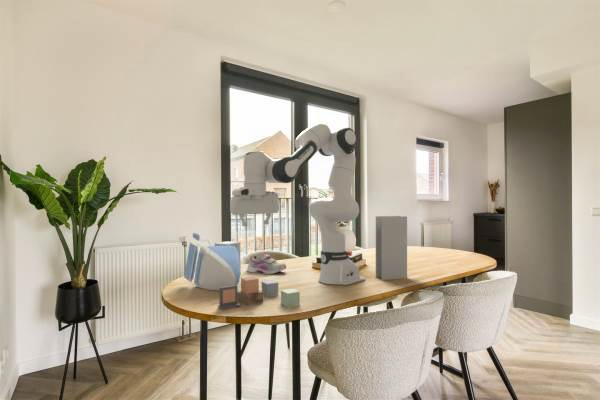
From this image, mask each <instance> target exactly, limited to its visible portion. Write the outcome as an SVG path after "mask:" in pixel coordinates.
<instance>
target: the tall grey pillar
mask: <svg viewBox="0 0 600 400" xmlns="http://www.w3.org/2000/svg"><path fill="white" fill-rule="evenodd" d="M375 278H377V279H379V278H381V281H387V280H389V281H390V280H398V278H401V279H407V278H408V216H401V215H393V216H392V215H385V216H384V215H383V216H381V215H380V216H377V215H376V216H375Z"/></svg>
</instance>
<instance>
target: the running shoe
mask: <svg viewBox="0 0 600 400" xmlns="http://www.w3.org/2000/svg"><path fill="white" fill-rule="evenodd" d="M286 268H287V265H286V263H284V262H283V263H279V262H277V261H276V259H275V258H272V257H271V255H270V254H268V253H264V252H263V253H260V254H259V256H257V254H255V253H254V254H252V255H251V256H250V257H249V261H248V265H247V268H246V272H248V273H260V272H261V273H263V274H266V275H273V274H276V273H279V272H281V271H284V270H285V269H286Z"/></svg>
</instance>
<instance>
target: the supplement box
mask: <svg viewBox="0 0 600 400" xmlns="http://www.w3.org/2000/svg"><path fill="white" fill-rule="evenodd" d="M214 246H235V247H236V249H237V251H238V253H239V261H240V262H241V242H240V241H231V240H230V241H228V240H227V241H220V242H214ZM241 269H242V268H241V265H240V270H241ZM241 274H242V271H241V272H240V276H241Z"/></svg>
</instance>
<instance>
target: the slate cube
mask: <svg viewBox="0 0 600 400" xmlns="http://www.w3.org/2000/svg"><path fill="white" fill-rule="evenodd" d="M261 291H263V296H265V297H273V296H277V295H278V296H279V282H278V281H276V280H274V279H270V280H263V281H261Z"/></svg>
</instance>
